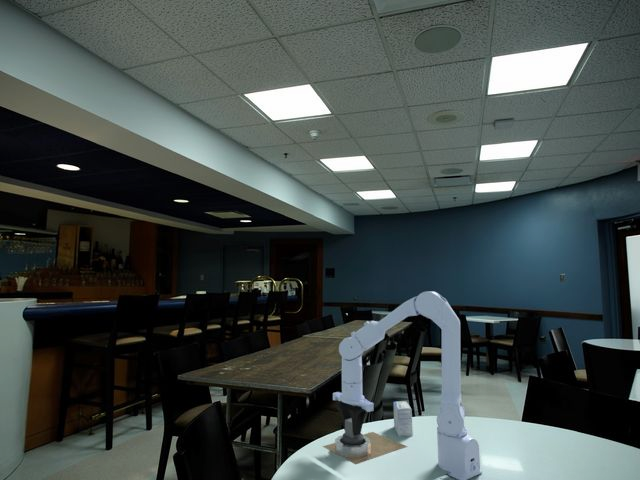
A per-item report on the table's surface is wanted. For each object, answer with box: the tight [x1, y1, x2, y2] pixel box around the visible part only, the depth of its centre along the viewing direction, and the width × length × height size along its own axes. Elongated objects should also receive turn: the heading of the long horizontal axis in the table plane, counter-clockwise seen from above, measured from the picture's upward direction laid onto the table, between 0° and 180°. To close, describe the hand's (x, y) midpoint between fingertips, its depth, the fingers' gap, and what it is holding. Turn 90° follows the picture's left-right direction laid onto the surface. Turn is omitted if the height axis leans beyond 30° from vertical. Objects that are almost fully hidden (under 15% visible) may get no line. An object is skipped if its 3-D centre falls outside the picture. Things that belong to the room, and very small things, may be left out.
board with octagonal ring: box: [322, 431, 408, 465], centre depth 111 cm, size 14×19×3 cm
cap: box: [342, 418, 364, 445], centre depth 109 cm, size 6×6×6 cm
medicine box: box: [393, 400, 414, 437], centre depth 123 cm, size 8×4×9 cm, turn 179°
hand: (352, 432), depth 109 cm, fingers closed on cap, 3 cm apart
